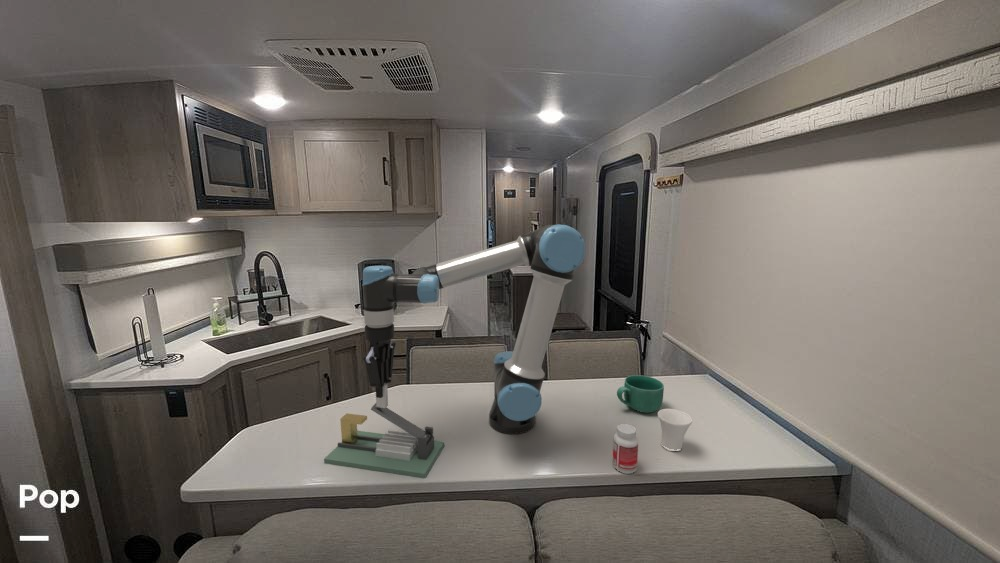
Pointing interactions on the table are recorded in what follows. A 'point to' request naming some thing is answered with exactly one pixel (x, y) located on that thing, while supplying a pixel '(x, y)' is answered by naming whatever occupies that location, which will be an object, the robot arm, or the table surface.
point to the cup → (673, 427)
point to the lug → (351, 427)
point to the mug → (642, 393)
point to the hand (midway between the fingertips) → (382, 406)
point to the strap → (401, 422)
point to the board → (381, 461)
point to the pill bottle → (625, 449)
